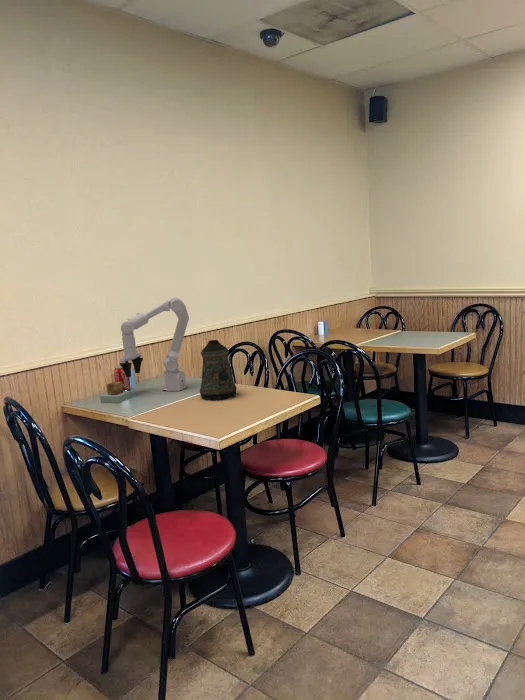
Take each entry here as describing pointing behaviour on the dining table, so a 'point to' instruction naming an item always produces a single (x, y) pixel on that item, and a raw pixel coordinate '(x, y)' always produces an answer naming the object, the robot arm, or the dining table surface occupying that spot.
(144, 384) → the dining table surface
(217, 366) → the beer stein
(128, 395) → the sage green base
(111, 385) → the walnut block
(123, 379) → the soda can
